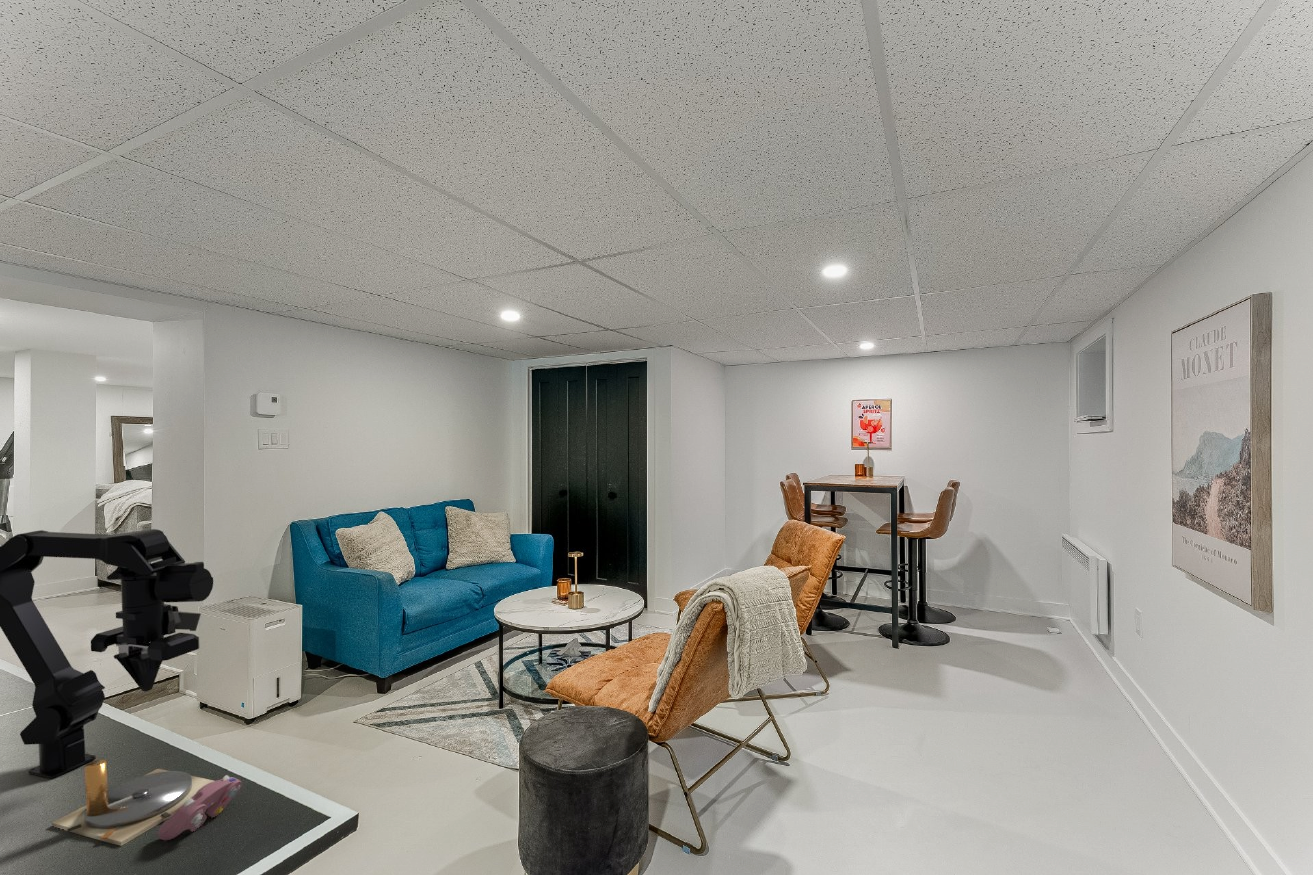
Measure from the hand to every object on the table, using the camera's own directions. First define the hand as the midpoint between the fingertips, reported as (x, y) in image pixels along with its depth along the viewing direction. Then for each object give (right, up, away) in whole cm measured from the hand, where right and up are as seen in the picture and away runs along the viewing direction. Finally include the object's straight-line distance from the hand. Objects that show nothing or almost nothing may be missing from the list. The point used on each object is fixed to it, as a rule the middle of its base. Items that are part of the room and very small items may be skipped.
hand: (147, 690), depth 107 cm
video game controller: (+22, -13, -16) cm, 30 cm away
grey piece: (+9, -13, -12) cm, 20 cm away
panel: (+9, -13, -12) cm, 20 cm away
